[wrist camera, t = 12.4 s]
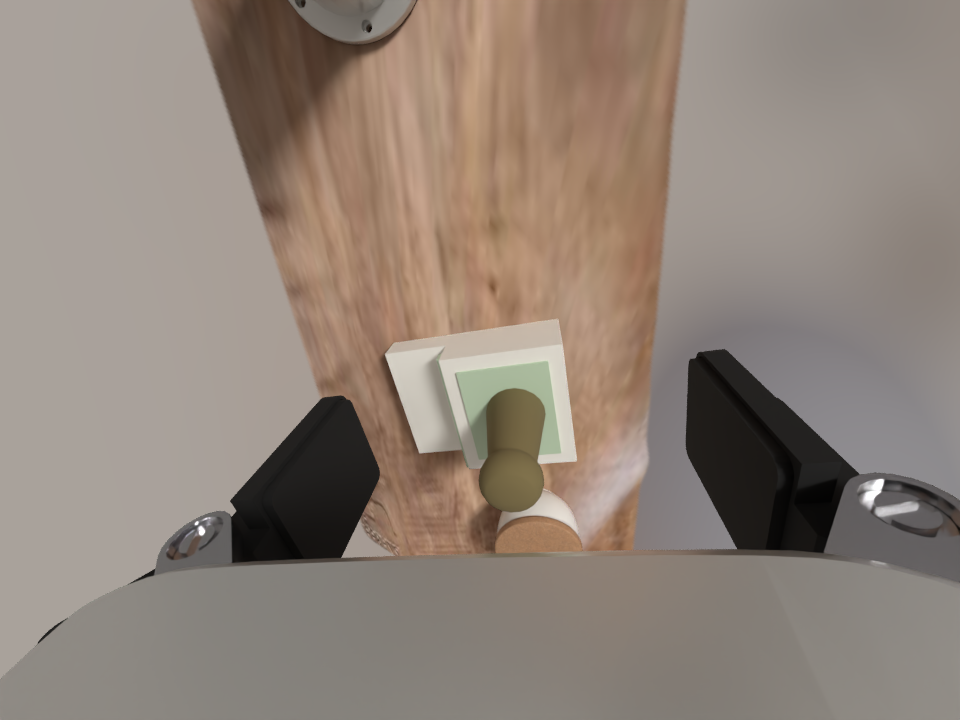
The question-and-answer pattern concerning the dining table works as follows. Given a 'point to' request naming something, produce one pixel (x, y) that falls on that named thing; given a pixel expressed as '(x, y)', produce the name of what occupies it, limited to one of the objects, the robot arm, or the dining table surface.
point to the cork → (513, 451)
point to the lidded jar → (539, 528)
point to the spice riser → (482, 387)
